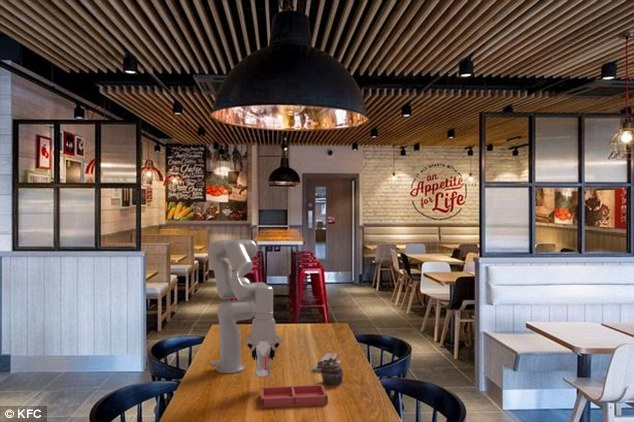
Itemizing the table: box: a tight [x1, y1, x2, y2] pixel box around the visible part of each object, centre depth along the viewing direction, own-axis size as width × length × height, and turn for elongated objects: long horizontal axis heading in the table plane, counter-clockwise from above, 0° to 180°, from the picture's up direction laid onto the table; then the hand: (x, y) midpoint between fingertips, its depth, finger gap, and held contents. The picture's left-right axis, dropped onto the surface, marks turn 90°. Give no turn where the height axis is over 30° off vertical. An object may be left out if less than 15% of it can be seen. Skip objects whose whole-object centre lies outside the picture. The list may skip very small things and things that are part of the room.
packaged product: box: [312, 352, 343, 373], centre depth 247 cm, size 18×5×10 cm
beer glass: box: [255, 341, 272, 378], centre depth 215 cm, size 7×7×15 cm
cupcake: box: [320, 358, 344, 387], centre depth 223 cm, size 10×10×10 cm
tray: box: [260, 384, 329, 409], centre depth 203 cm, size 25×13×3 cm, turn 97°
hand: (263, 358), depth 215 cm, fingers closed on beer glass, 6 cm apart
